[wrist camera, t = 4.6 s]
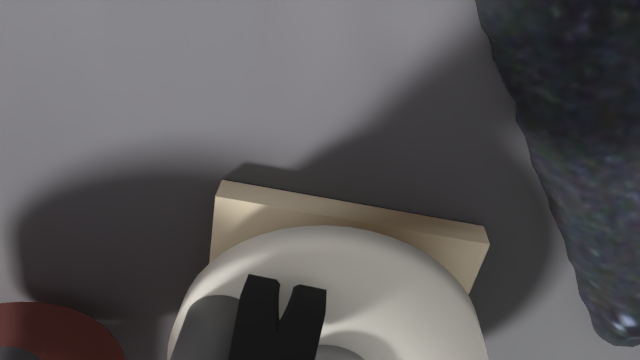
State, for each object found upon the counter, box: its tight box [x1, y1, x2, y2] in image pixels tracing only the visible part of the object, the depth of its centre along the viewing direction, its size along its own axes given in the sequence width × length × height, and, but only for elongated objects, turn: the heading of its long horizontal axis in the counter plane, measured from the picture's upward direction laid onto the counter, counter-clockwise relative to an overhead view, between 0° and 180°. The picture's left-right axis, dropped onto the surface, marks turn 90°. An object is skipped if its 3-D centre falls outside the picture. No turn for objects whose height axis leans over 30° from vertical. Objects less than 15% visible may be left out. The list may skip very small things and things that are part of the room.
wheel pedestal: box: [209, 180, 490, 295], centre depth 15 cm, size 7×7×2 cm
